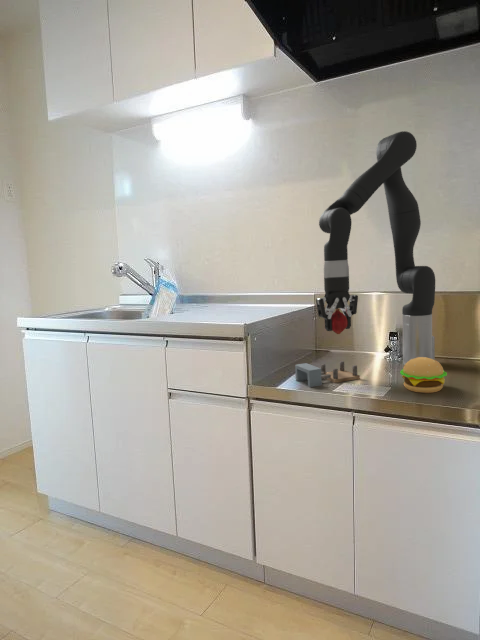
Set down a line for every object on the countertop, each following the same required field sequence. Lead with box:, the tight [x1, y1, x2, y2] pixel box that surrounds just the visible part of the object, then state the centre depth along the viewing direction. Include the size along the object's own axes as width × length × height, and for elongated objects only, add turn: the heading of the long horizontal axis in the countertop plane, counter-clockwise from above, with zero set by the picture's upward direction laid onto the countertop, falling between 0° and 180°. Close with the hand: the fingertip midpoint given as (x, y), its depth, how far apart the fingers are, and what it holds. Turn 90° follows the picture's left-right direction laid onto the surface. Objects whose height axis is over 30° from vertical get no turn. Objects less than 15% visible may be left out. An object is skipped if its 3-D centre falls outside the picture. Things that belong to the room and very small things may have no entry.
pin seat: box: [320, 360, 361, 384], centre depth 139 cm, size 13×9×4 cm
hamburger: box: [399, 357, 448, 394], centre depth 123 cm, size 12×12×9 cm
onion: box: [331, 308, 348, 335], centre depth 138 cm, size 6×6×8 cm
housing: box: [294, 362, 323, 388], centre depth 136 cm, size 4×9×5 cm, turn 21°
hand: (338, 329), depth 138 cm, fingers closed on onion, 6 cm apart
